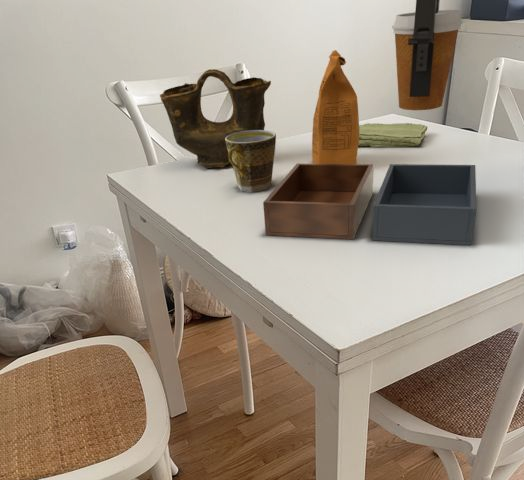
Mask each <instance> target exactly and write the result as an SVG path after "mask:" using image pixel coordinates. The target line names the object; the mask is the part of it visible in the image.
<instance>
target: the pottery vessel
mask: <svg viewBox="0 0 524 480" xmlns="http://www.w3.org/2000/svg"><path fill="white" fill-rule="evenodd" d="M208 78H216V79H218V80H219V81H220V82H222V83H223V85H224V86H225V88H227V91H228V94H229V95H230V99H231V104H232V113H231V115H230V118H228V119H227V120H225V121H212V120H209V119H208V118H206V117H205V116H204V114H203V111H202V91H203V87H204V85H205V82H206V81H207V80H208ZM271 84H272V81H271V80H268V81H267V80H265V79H263V78H261V77H254V76H252V77H250V78H249V77H248V78H244V79H241V80H238V81H236V82H232V80H231V78H230V77H229V75H227V74H226V73H225V72H224V71H222V70H219V69H215V68H214V69H212V68H211V69H207V70H205V71H204V72H203V73H202V74H201V75H200V77H199V78H198V79H197V82H196V83H187V82H185V83H184V84H183V85H177V86H174V87H170V88H167V89H165V90H163V92H162V93H161V94H159V97H160V101H161V102H162V104H163V107H164V109H165V111H166V114H167V116H168V120H169V123H170V125H171V128H172V134H173V137H174V139H175V143H176V144H177V145H178V146H179V147H180V148H182V149H184V150H186V151H188V152H189V153H190V154H193V155H195V156H196V158H197V164H198V165H199V164H200V163H201V164H200V165H201V166H202V167H203V168H204V169H211V168H216V167H218V168H224V167H225V166H226V165H228V164H230V161H229V153H228V149H227V145H226V141H225V138H226V137H227V136H229V135H231V134H234V133H238V132H243V131H250V130H265V127H266V122H265V116H264V109H265V103H266V101H265V93H266V92H267V90H268V89H269V88H270V86H271Z"/></svg>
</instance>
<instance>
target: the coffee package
mask: <svg viewBox="0 0 524 480" xmlns="http://www.w3.org/2000/svg"><path fill="white" fill-rule="evenodd" d="M328 59H329V61H328V63H327V66H326V68H325V71H324V74H323V76H322V79H321V82H320V85H319V90H318V97H317V100H316V105H315V110H314V113H313V119H312V135H311V136H312V137H311V159H312V164H357V160H358V150H359V146H358V145H359V126H360V118H359V116H360V115H359V103H358V96H357V93H356V91H355V89H354V87H353V86H352V84H351V82H350V80H349V79H348V77H347V76H346V74H345V72H344V69H343V68H342V66H345V65H346V63H347V61H346V58H345V57H343V56H342V54H340V53H339V52H338V50H336V49H334V50H332V51H331V53H330V55H329V56H328Z"/></svg>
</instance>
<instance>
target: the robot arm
mask: <svg viewBox="0 0 524 480" xmlns="http://www.w3.org/2000/svg"><path fill="white" fill-rule="evenodd" d="M440 1H441V0H415V10H414V11H415V23H414V33H413V35H412V38H408V45H413V53H412V68H411V82H410V97H427V96H429V95H430V84H431V72H432V61H433V50H434V43H433V41H434V25H435V15H436V13H438V10H440Z"/></svg>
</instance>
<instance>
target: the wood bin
mask: <svg viewBox="0 0 524 480" xmlns="http://www.w3.org/2000/svg"><path fill="white" fill-rule="evenodd" d="M374 168H375V164H374V163H356V164H313V163H302V162H301V163H300V162H299V163H298V162H297V163H296V164H295V165H294V166H293V167H292V168H291V169H290V170H289V172H288V173H287V174H286V175H285V177H284V178H282V180H281V181H280V182H279V184H277V186H275V188H274V190H272V191H271V192H270V194H269V195H268V196H267V197H266V198H265V199H264V201H262V202H263V203H262V206H263V215H264V216H263V217H264V229H265V230H264V231H265V236H275V237H276V236H277V237H278V236H279V237H295V238H296V237H298V238H318V239H337V240H338V239H339V240H355V237H356V234H357V231H358V230H359V226H360V225H361V223H362V220H363V219H364V218H363V217H364V215H365V213H366V210H367V208H368V206H369V203H370V201H371V198H372V196H373V194H374V170H375V169H374Z"/></svg>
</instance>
